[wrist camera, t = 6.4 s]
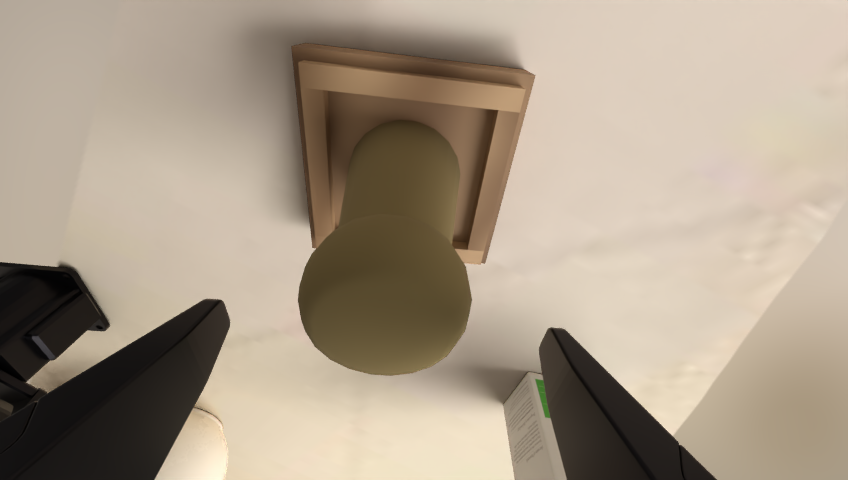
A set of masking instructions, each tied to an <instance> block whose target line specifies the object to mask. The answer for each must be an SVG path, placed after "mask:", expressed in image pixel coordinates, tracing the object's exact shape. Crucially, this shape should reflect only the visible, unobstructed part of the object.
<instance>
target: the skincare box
mask: <svg viewBox="0 0 848 480" xmlns="http://www.w3.org/2000/svg"><path fill="white" fill-rule="evenodd" d="M503 408H504V414H505V420H506V427H507V433H508V439H509V446H510V452H511V458H512V465H513V471H514V477H515V480H567V478H566V475H565V471H564V467H563V463H562V460H561V456H560V452H559V448H558V445H557V441H556V437H555V433H554V430H553V426H552V422H551V418H550V414H549V410H548V406H547V400H546V394H545V388H544V381H543V375H542V374H538V373H533V372H528V373H527V374H526V375H525V377H524V378H523V379H522V381H521V382H520V383H519V385H518V386H517V387H516V389H515V390H514V391H513V393H512V394H511V395H510V397H509V398H508V399H507V401H506V402H505V403H504V405H503Z"/></svg>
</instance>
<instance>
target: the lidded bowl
mask: <svg viewBox="0 0 848 480" xmlns="http://www.w3.org/2000/svg"><path fill="white" fill-rule="evenodd" d="M222 431H223V425H222V423H221V422H220V421H219V420H218V419H217V418H216V417H215V416H213V415H212V414H210V413H208V412H206V411H203V410H201V409H198V408H194V407H193V409H192V411H191V413H190V415H189V417H188V419H187V420H186V422H185V424H184V426H183V428H182V430H181V432H180V433H179V435H178V437H177V439H176V441H175V443H174V445H173V446H172V448H171V450H170V452H169V454H168V456H167V458H166V459H165V461H164V463H163V465H162V467H161V469H160V471H159V472H158V474H157V476H156V478H155V480H224V479H225V475H226V471H227V465H228V446H227V443H226V439H225V436H224V434H223V432H222Z"/></svg>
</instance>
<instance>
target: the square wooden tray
mask: <svg viewBox="0 0 848 480" xmlns="http://www.w3.org/2000/svg"><path fill="white" fill-rule="evenodd" d="M291 47H292V57H293V66H294V76H295V85H296V95H297V104H298V114H299V124H300V133H301V143H302V152H303V162H304V171H305V181H306V190H307V200H308V210H309V219H310V229H311V238H312V248H316V249H317V248H318V246H319V245H320V244H321V243H322V242H323V241H324V239H325V238H326V237H327V236H328V235H330V234H331V233H332V232H333V231H334V230H335V229H337V228H338V226H339V220H340V214H341V208H342V203H343V197H344V191H345V185H346V180H347V174H348V168H349V163H350V160H351V157H352V153H353V150H354V147H355V146H356V145H357V143H358V142H359V141H360V140H361V138H362V137H363V136H364V134H365V133H367V132H369V131H370V130H372V129H373V128H375V127H376V126H378V125H380V124H383V123H387V122H391V121H396V120H406V121H416V122H420V123H422V124H424V125H427V126H429V127H431V128H433V129H435V130H437V131H438V132H439V133H440V134H441V135H442V136H443V137H444V138H445V139H446V140H447V141H449V143H450V145H451V146H452V148H453V150H454V152H455V154H456V155H457V157H458V163H459V169H460V181H459V190H458V198H457V206H456V215H455V223H454V231H453V239H452V246H453V247H454V249H455V250H456V252H457V253H458V255H459V256H460V258H461V260H462V261H463V263H469V264H480V265H481V263H485V262H486V258H487V255H488V251H489V247H490V243H491V240H492V236H493V232H494V228H495V225H496V221H497V217H498V213H499V210H500V206H501V202H502V198H503V195H504V191H505V187H506V183H507V180H508V176H509V172H510V168H511V165H512V161H513V157H514V154H515V150H516V146H517V142H518V139H519V135H520V131H521V127H522V124H523V120H524V116H525V112H526V109H527V105H528V101H529V97H530V94H531V90H532V86H533V82H534V79H535V75H533V74H532V73H530V72H528V71H526V70H523V69H515V68H507V67H498V66H490V65H482V64H474V63H465V62H457V61H449V60H441V59H433V58H424V57H416V56H408V55H400V54H391V53H383V52H375V51H367V50H358V49H350V48H342V47H334V46H326V45H317V44H309V43H303V44H299V45H294V46H291Z"/></svg>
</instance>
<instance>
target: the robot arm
mask: <svg viewBox="0 0 848 480" xmlns="http://www.w3.org/2000/svg"><path fill="white" fill-rule="evenodd" d="M109 327H110V324H109V322H108V321H107V319H106V318H105V316H104V314H103V313H102V311H101V310H100V308H99V307H98V305H97V303H96V302H95V300H94V299H93V297H92V295H91V294H90V292H89V291H88V289H87V288H86V286H85V284H84V283H83V281H82V280H81V278H80V277H79V275H78V273H77V272H76V271H74V270H72V269H70V268H62V267H50V266H38V265H27V264H15V263H2V262H0V480H155V478H156V476H157V474H158V472H159V471H160V469H161V467H162V465H163V463H164V461H165V459H166V458H167V456H168V454H169V452H170V450H171V448H172V446H173V445H174V443H175V441H176V439H177V437H178V435H179V433H180V432H181V430H182V428H183V426H184V424H185V422H186V420H187V419H188V417H189V415H190V413H191V411H192V409H193V407H194V406H195V404H196V402H197V400H198V398H199V396H200V394H201V393H202V391H203V389H204V387H205V385H206V383H207V381H208V379H209V376H210V374H211V372H212V369H213V367H214V364H215V362H216V359H217V357H218V355H219V352H220V350H221V347H222V345H223V342H224V340H225V337H226V335H227V333H228V330H229V327H230V319H229V316H228V313H227V310H226V307H225V304H224V302H223V301H222V300H218V299H205V300H202V301H201V302H199V303H197V304H196V305H194V306H192V307H191V308H189V309H187V310H186V311H184V312H182V313H181V314H179V315H177V316H176V317H174V318H172V319H171V320H169V321H167V322H166V323H164V324H162V325H161V326H159V327H157V328H156V329H154V330H152V331H151V332H149V333H147V334H146V335H144V336H142V337H141V338H139V339H137V340H136V341H134V342H132V343H131V344H129V345H127V346H126V347H124V348H122V349H121V350H119V351H117V352H116V353H114V354H112V355H111V356H109V357H107V358H106V359H104V360H102V361H101V362H99V363H97V364H96V365H94V366H92V367H91V368H89V369H87V370H86V371H84V372H82V373H81V374H79V375H77V376H76V377H74V378H72V379H71V380H69V381H68V382H66V383H64V384H63V385H61V386H59V387H58V388H56V389H54V390H53V391H51V392H49V393H48V394H47V392H46V391H44V390H42V389H41V388H39V389H37V388H35V387H33V386H32V385H30V384H28V383H26V382H27V381H28V380H29V379H30V378H31V377H32V376H33V375H34V374H36V373H37V372H38V371H39V370H40V369H41V368H42V367H43V366H44V365H45V364H47V363H48V362H49V361H50V360H55V359H56V358H58V357H59V356H60V355H61V354H62V353H63V352H64V351H65V350H66V349H67V348H68V347H70V346H71V345H72V344H73V343H74V342H75V341H76V340H77V339H78V338H79V337H80V336H81V335H83V334H84V333H85V332H86V331H87V330H91V331H106V330H107V329H108V328H109ZM539 355H540V362H541V368H542V375H543V381H544V388H545V394H546V400H547V406H548V410H549V414H550V418H551V422H552V426H553V430H554V433H555V437H556V441H557V445H558V448H559V452H560V456H561V460H562V463H563V467H564V471H565V475H566V478H567V480H717V479H716V478H715V477H714V476H713V475H712V474H711V473H709V472H708V471H707V470H706V469H705V468H704V467H703V466H702V465H701V464H700V463H699V462H698V461H697V460H696V459H695V458H694V457H693V456H692V455H691V454H690V453H689V452H688V451H687V450H686V449H685V448H684V447H683V446H682V445H679V443H678V441H676V439H675V438H674V437H673V436H672V435H671V434H670V433H669V432H668V431H667V430H666V429H665V428H664V427H663V426H662V425H661V424H660V423H659V422H658V421H657V420H656V419H655V418H654V417H653V416H652V415H651V414H650V413H649V412H648V411H647V410H646V409H645V408H644V407H643V406H642V405H641V404H640V403H639V402H638V401H637V400H636V399H635V398H634V397H633V396H632V395H630V394H629V393H628V392H627V391H626V390H625V389H624V388H623V387H622V386H621V385H620V384H619V383H618V382H617V381H616V380H615V379H614V378H613V377H612V376H611V375H610V374H609V373H608V372H607V371H606V370H605V369H604V368H603V367H602V366H601V365H600V364H599V363H598V362H597V361H596V360H595V359H594V358H593V357H592V356H591V355H590V354H589V353H588V352H587V351H586V350H585V349H584V348H583V347H582V346H581V345H580V344H579V343H578V342H577V341H576V340H575V339H574V338H573V337H572V336H571V335H570V334H569V333H568V332H567V331H566V330H565V329H562V328H552V327H551V328H549V329H548V330H547V331H546V334H545V336H544V338H543V340H542V342H541V344H540V347H539Z"/></svg>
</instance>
